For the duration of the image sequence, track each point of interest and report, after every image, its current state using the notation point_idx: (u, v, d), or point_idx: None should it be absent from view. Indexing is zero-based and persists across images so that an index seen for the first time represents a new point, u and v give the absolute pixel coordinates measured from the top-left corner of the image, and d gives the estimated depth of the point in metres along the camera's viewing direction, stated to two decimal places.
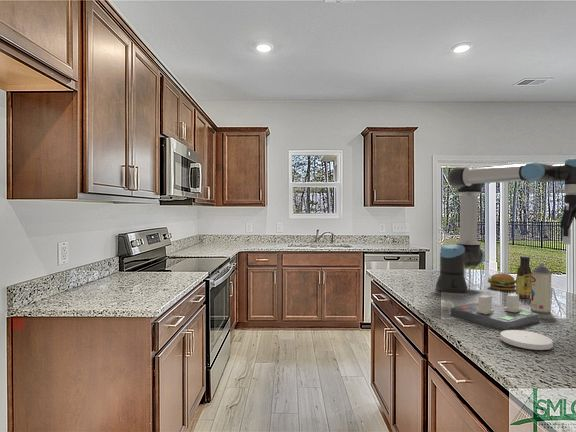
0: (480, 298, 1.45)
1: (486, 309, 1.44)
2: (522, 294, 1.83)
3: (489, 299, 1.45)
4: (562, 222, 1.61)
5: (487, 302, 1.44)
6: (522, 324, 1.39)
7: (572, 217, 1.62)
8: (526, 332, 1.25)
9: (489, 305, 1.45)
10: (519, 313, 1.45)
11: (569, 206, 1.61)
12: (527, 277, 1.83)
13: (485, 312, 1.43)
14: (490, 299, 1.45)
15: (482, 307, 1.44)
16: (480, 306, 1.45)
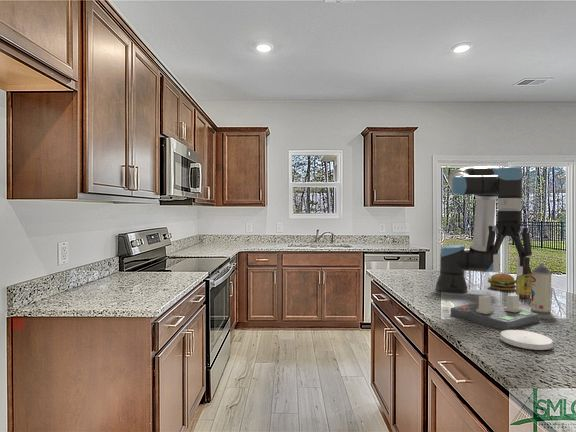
0: (480, 298, 1.45)
1: (486, 309, 1.44)
2: (522, 294, 1.83)
3: (489, 299, 1.45)
4: None
5: (487, 302, 1.44)
6: (522, 324, 1.39)
7: (496, 239, 1.41)
8: (526, 332, 1.25)
9: (489, 305, 1.45)
10: (519, 313, 1.45)
11: None
12: (527, 277, 1.83)
13: (485, 312, 1.43)
14: (490, 299, 1.45)
15: (482, 307, 1.44)
16: (480, 306, 1.45)
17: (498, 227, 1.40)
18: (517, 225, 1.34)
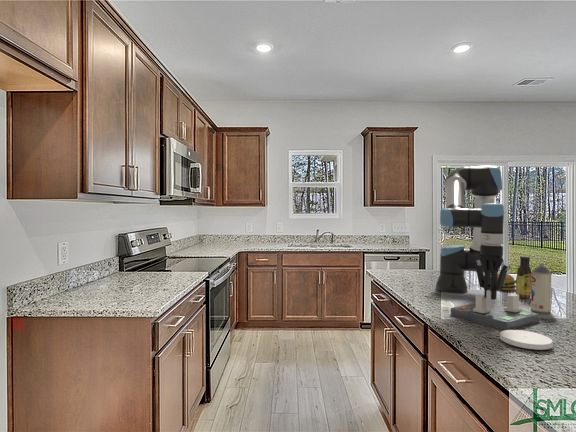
0: (477, 297, 1.46)
1: (483, 308, 1.45)
2: (522, 294, 1.83)
3: None
4: None
5: (484, 302, 1.45)
6: (522, 324, 1.39)
7: (484, 274, 1.44)
8: (526, 332, 1.25)
9: None
10: (519, 313, 1.45)
11: None
12: (527, 277, 1.83)
13: (482, 311, 1.44)
14: None
15: (478, 306, 1.45)
16: (477, 306, 1.46)
17: (482, 260, 1.45)
18: (499, 260, 1.40)
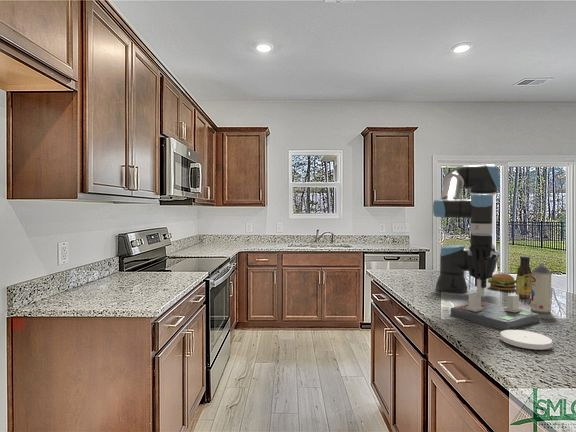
0: (470, 296, 1.48)
1: (475, 307, 1.47)
2: (522, 294, 1.83)
3: (479, 297, 1.48)
4: None
5: (477, 300, 1.48)
6: (522, 324, 1.39)
7: (474, 263, 1.48)
8: (526, 332, 1.25)
9: (479, 303, 1.48)
10: (519, 313, 1.45)
11: None
12: (527, 277, 1.83)
13: (474, 309, 1.46)
14: (479, 297, 1.49)
15: (471, 304, 1.48)
16: (470, 304, 1.48)
17: (472, 250, 1.49)
18: (488, 250, 1.43)
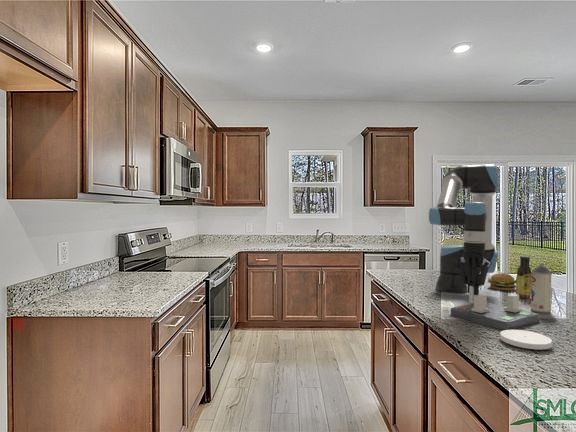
0: (475, 297, 1.46)
1: (481, 308, 1.45)
2: (522, 294, 1.83)
3: (484, 298, 1.46)
4: None
5: (482, 301, 1.46)
6: (522, 324, 1.39)
7: (467, 271, 1.50)
8: (525, 332, 1.25)
9: (484, 304, 1.46)
10: (519, 313, 1.45)
11: None
12: (527, 277, 1.83)
13: (480, 311, 1.44)
14: (485, 298, 1.47)
15: (477, 305, 1.46)
16: (475, 305, 1.46)
17: (465, 257, 1.51)
18: (481, 257, 1.45)
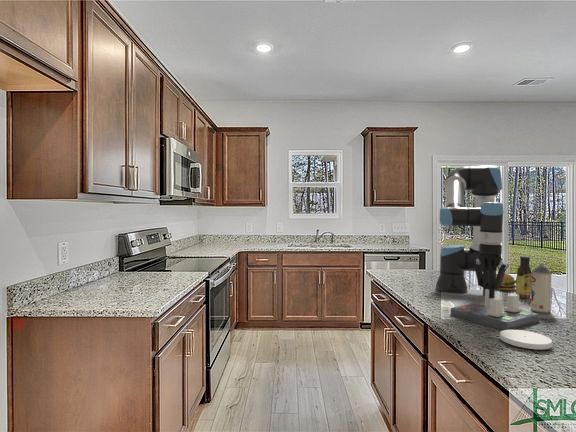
0: (491, 300, 1.41)
1: (497, 312, 1.40)
2: (522, 294, 1.83)
3: (500, 301, 1.41)
4: None
5: (498, 305, 1.41)
6: (522, 324, 1.39)
7: (483, 273, 1.45)
8: (525, 332, 1.25)
9: (500, 308, 1.41)
10: (519, 313, 1.45)
11: None
12: (527, 277, 1.83)
13: (496, 315, 1.39)
14: (501, 301, 1.42)
15: (493, 309, 1.41)
16: (491, 309, 1.41)
17: (481, 259, 1.45)
18: (498, 259, 1.40)
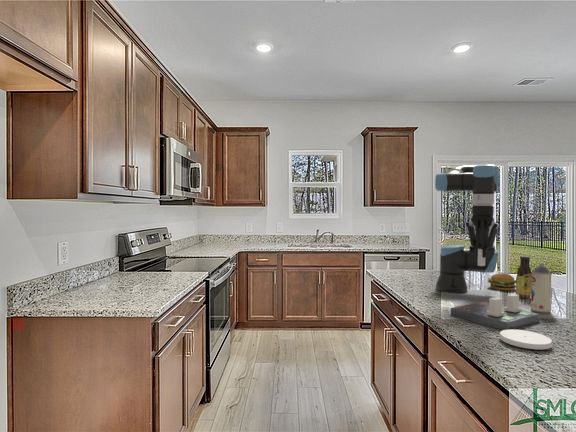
0: (490, 300, 1.41)
1: (497, 312, 1.40)
2: (522, 294, 1.83)
3: (500, 301, 1.41)
4: None
5: (498, 305, 1.41)
6: (522, 324, 1.39)
7: (476, 234, 1.50)
8: (525, 332, 1.26)
9: (500, 307, 1.41)
10: (519, 313, 1.45)
11: None
12: (527, 277, 1.83)
13: (496, 315, 1.39)
14: (501, 301, 1.42)
15: (492, 309, 1.41)
16: (491, 309, 1.41)
17: (473, 221, 1.51)
18: (490, 219, 1.46)
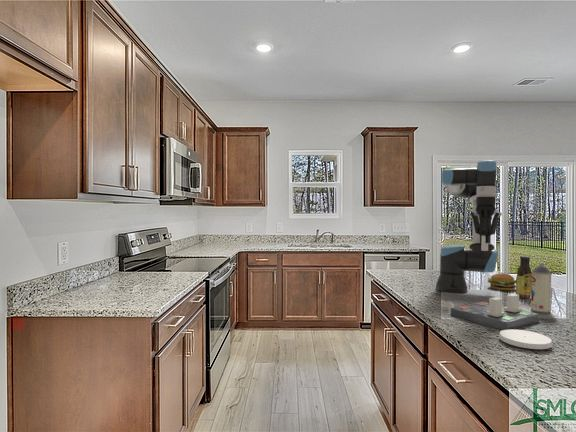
0: (490, 300, 1.41)
1: (497, 312, 1.40)
2: (522, 294, 1.83)
3: (500, 301, 1.41)
4: None
5: (498, 305, 1.41)
6: (522, 324, 1.39)
7: (479, 222, 1.68)
8: (525, 331, 1.26)
9: (500, 307, 1.41)
10: (519, 313, 1.45)
11: None
12: (527, 277, 1.83)
13: (496, 315, 1.39)
14: (501, 301, 1.42)
15: (492, 309, 1.41)
16: (491, 309, 1.41)
17: (477, 210, 1.69)
18: (492, 209, 1.63)
